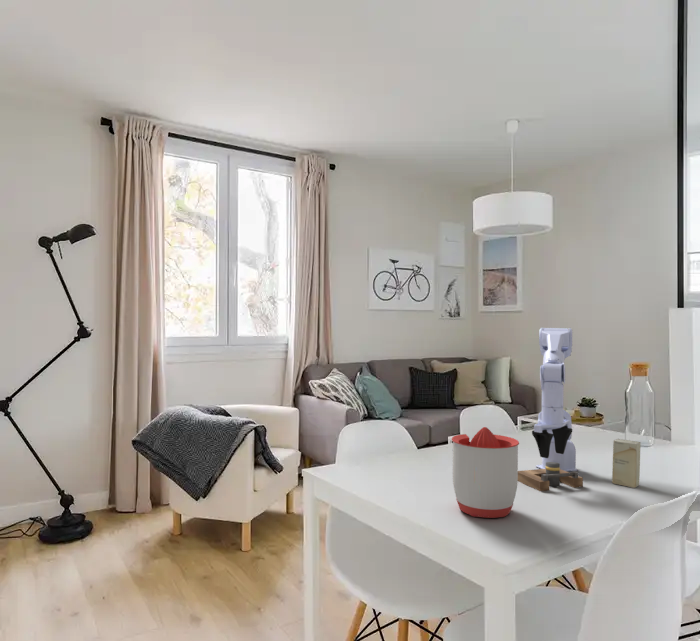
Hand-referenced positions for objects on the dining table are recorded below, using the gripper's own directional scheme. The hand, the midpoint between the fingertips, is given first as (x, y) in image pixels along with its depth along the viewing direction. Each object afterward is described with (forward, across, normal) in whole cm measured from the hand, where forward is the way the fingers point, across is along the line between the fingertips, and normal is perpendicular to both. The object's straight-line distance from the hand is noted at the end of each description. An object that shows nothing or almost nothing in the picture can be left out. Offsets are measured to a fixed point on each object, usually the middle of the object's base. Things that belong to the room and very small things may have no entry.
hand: (552, 455), depth 153 cm
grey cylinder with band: (+8, 0, 0) cm, 8 cm away
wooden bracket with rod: (+8, 0, -1) cm, 8 cm away
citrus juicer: (+8, +32, +2) cm, 33 cm away
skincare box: (+8, -17, +12) cm, 23 cm away
